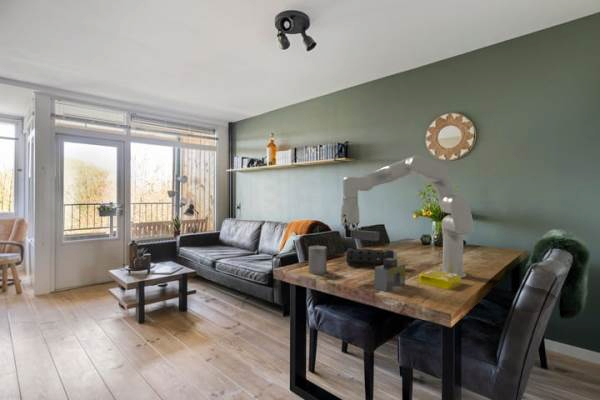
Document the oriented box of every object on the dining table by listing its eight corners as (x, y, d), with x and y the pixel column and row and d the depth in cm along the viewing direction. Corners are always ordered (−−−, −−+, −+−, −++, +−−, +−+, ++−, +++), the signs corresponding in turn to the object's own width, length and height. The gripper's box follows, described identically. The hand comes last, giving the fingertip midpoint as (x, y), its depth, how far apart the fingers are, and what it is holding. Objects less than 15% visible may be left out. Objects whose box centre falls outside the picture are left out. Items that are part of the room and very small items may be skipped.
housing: (393, 281, 149) (393, 255, 149) (405, 284, 145) (405, 257, 144) (374, 288, 138) (374, 260, 137) (386, 291, 133) (386, 262, 133)
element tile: (431, 278, 158) (431, 268, 157) (462, 284, 146) (462, 274, 146) (417, 283, 147) (417, 273, 147) (449, 290, 136) (449, 280, 136)
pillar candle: (314, 269, 173) (314, 242, 172) (330, 271, 167) (329, 244, 167) (305, 273, 165) (304, 245, 164) (320, 275, 159) (320, 247, 159)
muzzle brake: (348, 263, 189) (348, 246, 188) (396, 266, 180) (396, 249, 180) (346, 266, 179) (346, 249, 179) (396, 270, 171) (396, 252, 171)
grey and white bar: (349, 236, 161) (349, 227, 161) (379, 240, 148) (379, 229, 148) (344, 237, 158) (344, 228, 158) (375, 241, 145) (374, 230, 145)
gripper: (354, 200, 166) (354, 234, 166) (334, 201, 154) (334, 238, 154) (366, 200, 160) (366, 235, 160) (346, 201, 149) (346, 239, 149)
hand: (351, 236), depth 157 cm, fingers closed on grey and white bar, 4 cm apart
